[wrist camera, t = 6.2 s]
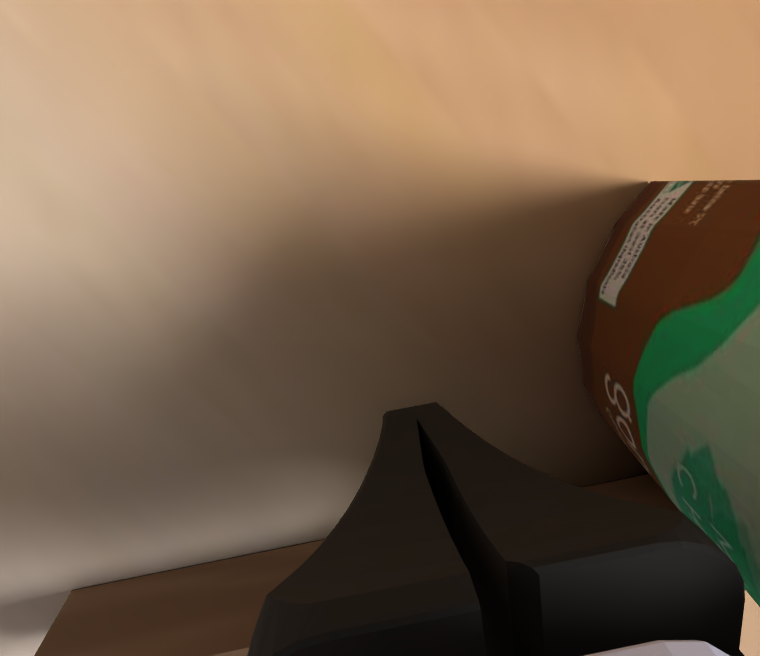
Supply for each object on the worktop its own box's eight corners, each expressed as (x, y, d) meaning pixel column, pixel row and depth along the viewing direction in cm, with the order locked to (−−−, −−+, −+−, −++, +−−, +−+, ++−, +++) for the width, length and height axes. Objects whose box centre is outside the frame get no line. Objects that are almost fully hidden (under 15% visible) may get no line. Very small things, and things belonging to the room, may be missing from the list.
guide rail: (929, 457, 16) (1059, 523, 13) (90, 629, 15) (35, 740, 12) (1006, 134, 13) (1202, 130, 10) (-55, 329, 12) (-177, 385, 9)
